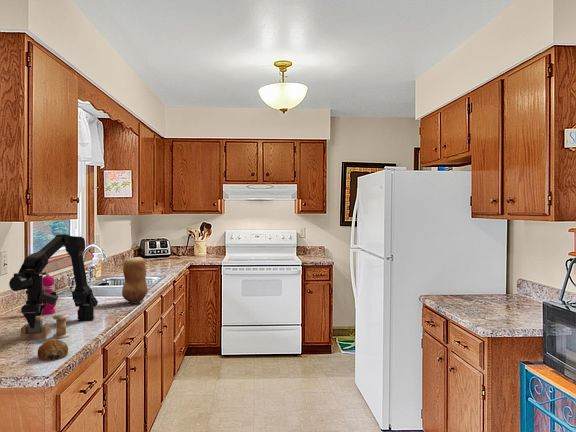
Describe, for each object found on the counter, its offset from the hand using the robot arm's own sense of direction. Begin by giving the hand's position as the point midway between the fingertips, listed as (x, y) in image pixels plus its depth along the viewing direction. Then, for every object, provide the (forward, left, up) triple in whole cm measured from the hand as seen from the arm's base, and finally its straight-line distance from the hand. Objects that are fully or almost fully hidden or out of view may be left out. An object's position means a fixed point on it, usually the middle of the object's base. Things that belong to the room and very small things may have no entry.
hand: (35, 325), depth 207 cm
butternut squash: (-37, -64, -5) cm, 73 cm away
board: (0, -2, -4) cm, 5 cm away
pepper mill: (+4, -47, -5) cm, 47 cm away
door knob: (-10, +2, -4) cm, 11 cm away
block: (0, 0, -2) cm, 3 cm away
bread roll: (-12, +31, -5) cm, 33 cm away
